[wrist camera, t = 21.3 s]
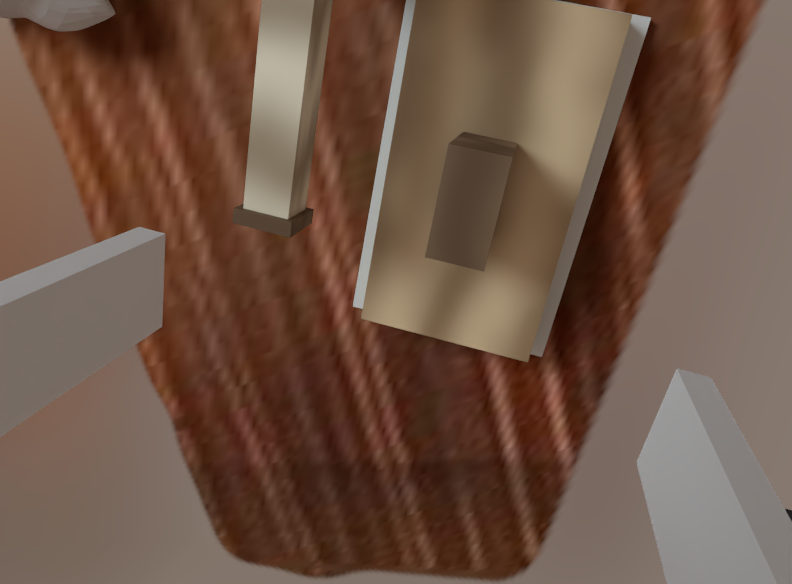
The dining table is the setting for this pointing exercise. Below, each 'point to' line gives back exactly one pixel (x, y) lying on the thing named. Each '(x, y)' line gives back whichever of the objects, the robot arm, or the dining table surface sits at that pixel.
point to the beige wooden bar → (284, 115)
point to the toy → (59, 12)
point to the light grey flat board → (587, 188)
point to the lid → (488, 165)
